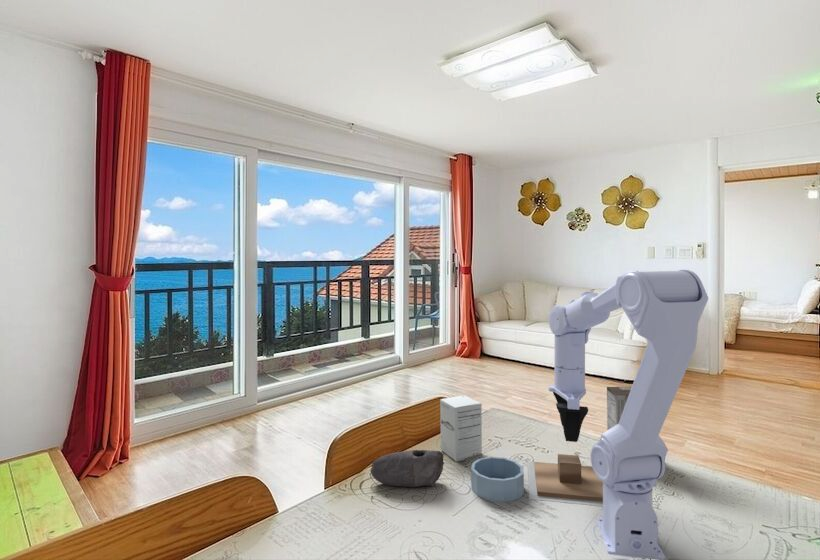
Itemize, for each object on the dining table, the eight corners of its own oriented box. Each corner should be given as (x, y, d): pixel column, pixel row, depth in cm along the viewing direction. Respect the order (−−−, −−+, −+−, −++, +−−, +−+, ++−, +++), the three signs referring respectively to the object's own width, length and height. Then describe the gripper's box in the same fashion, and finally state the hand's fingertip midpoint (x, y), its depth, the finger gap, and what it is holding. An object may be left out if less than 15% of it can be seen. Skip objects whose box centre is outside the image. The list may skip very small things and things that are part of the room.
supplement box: (439, 450, 107) (439, 398, 106) (466, 444, 110) (465, 394, 109) (455, 462, 100) (454, 407, 100) (483, 456, 103) (482, 402, 103)
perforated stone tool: (368, 490, 88) (368, 455, 88) (373, 477, 94) (372, 445, 93) (443, 492, 87) (443, 457, 87) (444, 479, 92) (444, 446, 92)
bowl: (524, 506, 81) (524, 482, 81) (469, 501, 83) (469, 477, 83) (523, 480, 91) (522, 459, 91) (474, 476, 93) (473, 455, 93)
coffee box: (647, 455, 102) (647, 386, 101) (660, 468, 95) (660, 394, 95) (606, 454, 103) (605, 385, 102) (616, 467, 96) (616, 393, 96)
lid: (611, 502, 81) (611, 477, 81) (537, 495, 84) (537, 470, 84) (597, 470, 94) (597, 448, 94) (534, 465, 97) (534, 443, 97)
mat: (622, 510, 79) (621, 508, 79) (529, 501, 83) (529, 498, 83) (604, 470, 95) (604, 468, 95) (526, 464, 98) (526, 461, 98)
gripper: (546, 357, 96) (546, 418, 97) (551, 374, 82) (550, 446, 83) (581, 358, 94) (580, 421, 95) (591, 376, 80) (591, 449, 81)
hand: (569, 433), depth 89 cm, fingers open, 7 cm apart
